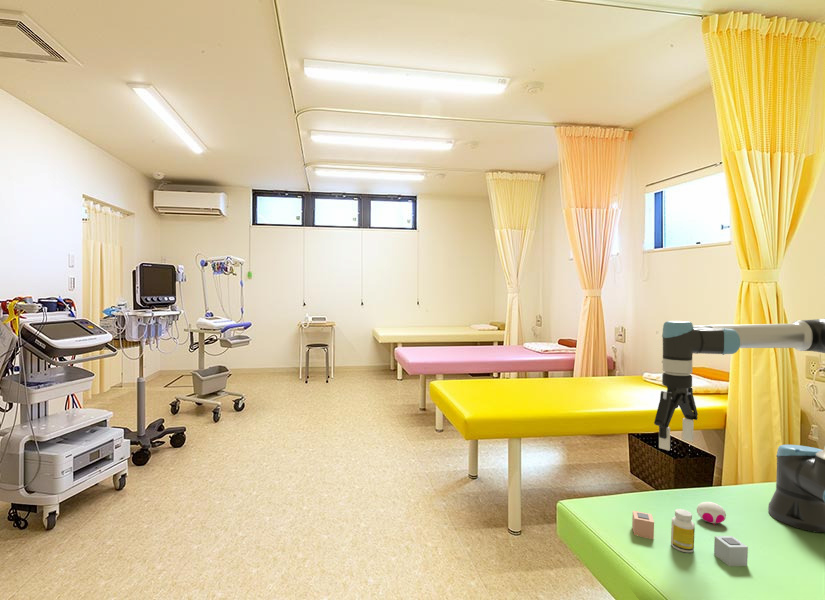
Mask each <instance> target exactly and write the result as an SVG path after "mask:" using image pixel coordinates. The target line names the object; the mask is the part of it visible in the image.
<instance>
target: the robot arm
mask: <svg viewBox="0 0 825 600" xmlns="http://www.w3.org/2000/svg"><path fill="white" fill-rule="evenodd" d="M662 326H663V327H662V335H661V338H662V360H661V364H662V371H663V372H662V374H661V376H662V377H661V380H662V385H663V386H665V387H666V388H667V390H666V391H662V390H661V391H660V394H659V395H660V397H659V403H658V406H657V411H656V414H655V418H654V425H655V426H658V449H660V450H661V449H662V450H666V451H667V452H668V451H670V450H671V427H670V426H669V425H670V423H671V420H672V418H673V415H674V414H675V412H676V411H675V410H676V409H678V408H680V410H681V413H682V415H683V418H682V440H683V441H688V442H690V443H693V442H694V421H698V415H699V414H698V410H697V406H696V402H695V398H694V393H693V392H694V391H693V375H692V373H693V354H706V355H722V356H723V355H733V354H736V353H737V352H738V351H739V350H740V349H790V348H791V349H795V350H796V351H799V352H816V353H821V354H825V318H817V319H816V318H815V319H801V320H800V319H798V320H794V321H793V322H792V323H764V324H763V323H757V324H756V323H755V324H754V323H753V324H752V323H750V324H747V323H745V324H742V323H741V324H740V323H739V324H702V325H700V324H699V325H698V324H697V325H696V324H695V325H693V322H691V321H689V320H688V321H684V320H683V321H682V320H666V321H665V322H663V325H662ZM775 457H776V480H775V481H776V483H775V484H776V485H775V491H774V493H773V494H772V497H771V499H770V501H769V502H768V507H767V510H768V514H769V515H770V516H771V517H773V518H774V519H775V520H777V521H779V522H781V523H782V524H785V525H788V526H791V527H794V528H795V529H799V528H800V529H799V530H803V529H804V530H803V531H807V530H809V531H808V532H812V531H815V532H814V533H820V532H825V446H824V448H823V449H820V448H817V447H813V446H811V447H810V446H808V445H807V446H805V445H800V444H781V445H779V446H778V448H777V451H776V456H775Z"/></svg>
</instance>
